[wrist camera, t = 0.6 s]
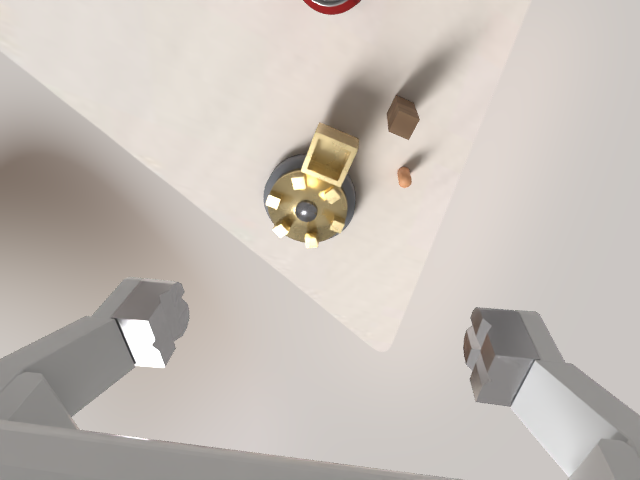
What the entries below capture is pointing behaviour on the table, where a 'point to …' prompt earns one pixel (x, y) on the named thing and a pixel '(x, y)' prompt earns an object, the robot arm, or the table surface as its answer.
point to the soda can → (331, 5)
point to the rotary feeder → (314, 190)
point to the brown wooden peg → (402, 117)
